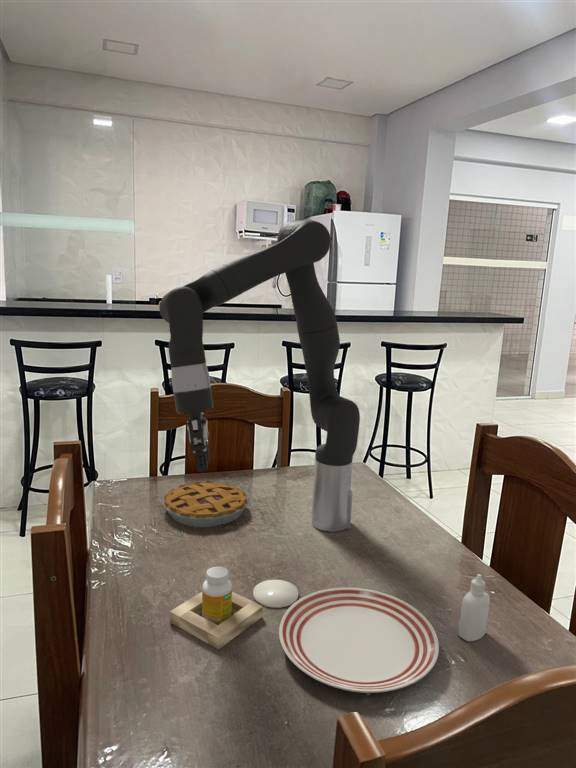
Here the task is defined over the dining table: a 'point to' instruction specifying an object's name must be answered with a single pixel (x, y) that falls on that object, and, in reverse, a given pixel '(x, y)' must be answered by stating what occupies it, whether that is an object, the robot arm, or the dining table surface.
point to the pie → (205, 504)
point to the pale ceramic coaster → (275, 593)
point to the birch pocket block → (207, 630)
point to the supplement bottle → (217, 595)
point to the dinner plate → (359, 640)
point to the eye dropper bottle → (474, 611)
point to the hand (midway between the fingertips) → (203, 467)
